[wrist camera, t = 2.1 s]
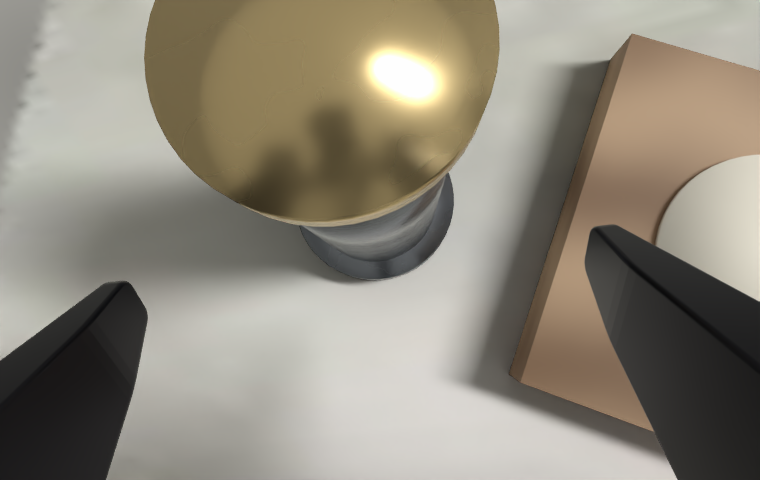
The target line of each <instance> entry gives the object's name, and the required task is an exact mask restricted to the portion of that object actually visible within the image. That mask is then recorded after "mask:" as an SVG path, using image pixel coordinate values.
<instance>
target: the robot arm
mask: <svg viewBox="0 0 760 480" xmlns="http://www.w3.org/2000/svg"><path fill="white" fill-rule="evenodd" d="M584 264H585V271H586V274H587V277H588V280H589V282H590V285H591V288H592V291H593V294H594V297H595V300H596V303H597V306H598V309H599V311H600V314H601V317H602V320H603V323H604V326H605V329H606V331H607V334H608V337H609V339H610V342H611V344H612V346H613V348H614V350H615V352H616V354H617V357H618V359H619V361H620V363H621V365H622V367H623V369H624V371H625V373H626V375H627V377H628V379H629V381H630V383H631V385H632V387H633V389H634V391H635V393H636V395H637V398H638V400H639V402H640V404H641V406H642V408H643V410H644V412H645V414H646V416H647V418H648V420H649V422H650V424H651V426H652V428H653V430H654V432H655V434H656V436H657V439H658V441H659V443H660V445H661V447H662V449H663V451H664V453H665V455H666V457H667V459H668V461H669V463H670V465H671V467H672V469H673V471H674V473H675V475H676V477H677V480H760V301H758V300H756V299H754V298H752V297H750V296H748V295H747V294H745V293H743V292H741V291H739V290H737V289H735V288H733V287H732V286H730V285H728V284H726V283H724V282H722V281H720V280H719V279H717V278H715V277H713V276H711V275H709V274H707V273H706V272H704V271H702V270H700V269H698V268H696V267H694V266H692V265H691V264H689V263H687V262H685V261H683V260H681V259H679V258H678V257H676V256H674V255H672V254H670V253H668V252H666V251H665V250H663V249H661V248H659V247H657V246H655V245H653V244H652V243H650V242H648V241H646V240H644V239H642V238H640V237H638V236H637V235H635V234H633V233H631V232H629V231H627V230H625V229H624V228H622V227H620V226H618V225H615V224H609V225H600V226H595V227H593V228H592V229H591V231H590V234H589V239H588V244H587V249H586V254H585V260H584ZM147 320H148V316H147V311H146V308H145V306H144V305H143V303H142V301H141V300H140V298H139V296H138V295H137V293H136V291H135V290H134V288H133V287H132V285H131V284H130V283H129V282H127V281H116V282H108V283H105V284H103V285H101V286H100V287H99V288H97V289H96V290H95V291H93V292H92V293H91V294H89V295H88V296H87V297H85V298H84V299H83V300H81V301H80V302H79V303H77V304H76V305H75V306H73V307H72V308H71V309H69V310H68V311H67V312H65V313H64V314H62V315H61V316H60V317H58V318H57V319H56V320H54V321H53V322H52V323H50V324H49V325H48V326H46V327H45V328H44V329H42V330H41V331H40V332H38V333H37V334H36V335H34V336H33V337H32V338H30V339H29V340H28V341H26V342H25V343H23V344H22V345H21V346H19V347H18V348H17V349H15V350H14V351H13V352H11V353H10V354H9V355H7V356H6V357H5V358H3V359H2V360H1V361H0V480H106V478H107V475H108V471H109V468H110V465H111V462H112V459H113V455H114V452H115V449H116V446H117V443H118V439H119V436H120V433H121V430H122V427H123V423H124V420H125V417H126V414H127V411H128V407H129V404H130V401H131V397H132V394H133V390H134V386H135V382H136V378H137V372H138V367H139V362H140V357H141V352H142V347H143V342H144V336H145V331H146V326H147Z"/></svg>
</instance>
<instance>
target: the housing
mask: <svg viewBox="0 0 760 480" xmlns="http://www.w3.org/2000/svg"><path fill="white" fill-rule="evenodd" d="M498 57H499V24H498V18H497V12H496V6H495V2H494V0H155V2H154V5H153V8H152V11H151V14H150V18H149V23H148V28H147V32H146V41H145V54H144V60H145V77H146V83H147V88H148V93H149V98H150V102H151V104H152V107H153V110H154V113H155V116H156V119H157V121H158V123H159V125H160V127H161V129H162V131H163V133H164V135H165V137H166V139H167V140H168V142H169V143H170V145H171V146H172V147H173V149H174V150H175V152H176V153H177V154H178V156H179V157H180V159H181V160H182V161H183V162H184V163H185V164H186V165H187V166H188V167H189V168H190V169H191V170H192V171H193V172H194V173H195V174H196V175H197V176H198V177H199V178H201V179H202V180H203V181H205V182H206V183H207V184H208V185H210V186H211V187H212V188H213V189H215V190H217V191H218V192H220V193H222V194H223V195H225V196H227V197H229V198H230V199H232V200H234V201H235V202H237V203H239V204H241V205H242V206H244V207H246V208H248V209H250V210H252V211H254V212H256V213H259V214H261V215H264V216H266V217H268V218H271V219H275V220H279V221H282V222H286V223H290V224H296V225H299V226H300V229H301V231H302V234H303V236H304V238H305V240H306V242H307V243H308V245H309V246H310V247H311V249H312V250H313V252H314V253H315V254H316V255H317V256H318V257H319V258H320V259H321V260H323V261H324V262H325V263H326V264H328V265H329V266H331V267H332V268H334V269H336V270H337V271H339V272H342V273H344V274H346V275H349V276H352V277H355V278H359V279H365V280H385V279H392V278H395V277H399V276H402V275H404V274H407V273H409V272H411V271H413V270H414V269H416V268H418V267H419V266H420V265H422V264H423V263H424V262H426V261H427V260H428V259H429V258H430V257H431V256H432V255H433V254H434V252H435V251H436V250H437V248H438V247H439V246H440V244H441V242H442V240H443V239H444V237H445V235H446V233H447V230H448V228H449V226H450V222H451V218H452V214H453V206H454V194H453V188H452V183H451V179H450V176H449V173H448V172H449V171H450V170H451V169H452V167H453V166H454V165H455V163H456V162H457V161H458V160H459V158H460V157H461V156H462V154H463V153H464V152H465V150H466V148H467V146H468V145H469V143H470V141H471V140H472V138H473V136H474V134H475V132H476V130H477V127H478V125H479V123H480V120H481V118H482V115H483V113H484V110H485V108H486V105H487V103H488V100H489V98H490V95H491V92H492V88H493V84H494V80H495V77H496V73H497V66H498Z"/></svg>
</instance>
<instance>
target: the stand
mask: <svg viewBox="0 0 760 480" xmlns="http://www.w3.org/2000/svg"><path fill="white" fill-rule="evenodd" d="M609 224H615V225H618V226H620V227H622V228H624V229H625V230H627V231H629V232H631V233H633V234H635V235H637V236H638V237H640V238H642V239H644V240H646V241H648V242H650V243H652V244H653V245H655V246H657V247H659V248H661V249H663V250H665V251H666V252H668V253H670V254H672V255H674V256H676V257H678V258H679V259H681V260H683V261H685V262H687V263H689V264H691V265H692V266H694V267H696V268H698V269H700V270H702V271H704V272H706V273H707V274H709V275H711V276H713V277H715V278H717V279H719V280H720V281H722V282H724V283H726V284H728V285H730V286H732V287H733V288H735V289H737V290H739V291H741V292H743V293H745V294H747V295H748V296H750V297H752V298H754V299H756V300H758V301H760V71H759V70H755V69H752V68H748V67H745V66H742V65H738V64H735V63H731V62H728V61H724V60H721V59H718V58H714V57H711V56H707V55H704V54H700V53H697V52H693V51H690V50H687V49H683V48H680V47H676V46H673V45H669V44H666V43H663V42H659V41H656V40H652V39H649V38H645V37H642V36H639V35H635V34H631V36H630V37H629V38H628V39H627V40H626V42H625V43H624V44H623V45H622V46H621V48H620V49H619V50H618V51H617V52H616V53H615V55H614V56H613V57H612V58H611V60H610V63H609V66H608V69H607V72H606V75H605V78H604V81H603V84H602V87H601V90H600V94H599V97H598V100H597V103H596V106H595V109H594V112H593V115H592V118H591V121H590V124H589V128H588V131H587V134H586V137H585V140H584V143H583V146H582V149H581V152H580V155H579V158H578V162H577V165H576V168H575V171H574V174H573V177H572V180H571V183H570V186H569V189H568V192H567V196H566V199H565V202H564V205H563V208H562V211H561V214H560V217H559V220H558V223H557V226H556V230H555V233H554V236H553V239H552V242H551V245H550V248H549V251H548V254H547V257H546V261H545V264H544V267H543V270H542V273H541V276H540V279H539V282H538V285H537V288H536V291H535V295H534V298H533V301H532V304H531V307H530V310H529V313H528V316H527V319H526V322H525V325H524V329H523V332H522V335H521V338H520V341H519V344H518V347H517V350H516V353H515V356H514V359H513V363H512V366H511V369H510V372H509V375H511V376H512V377H513V378H515V379H516V380H517V381H519V382H520V383H523V384H525V385H528V386H531V387H534V388H536V389H539V390H542V391H544V392H547V393H550V394H553V395H555V396H558V397H561V398H563V399H566V400H569V401H571V402H574V403H577V404H580V405H582V406H585V407H588V408H590V409H593V410H596V411H599V412H601V413H604V414H607V415H609V416H612V417H615V418H618V419H620V420H623V421H626V422H628V423H631V424H634V425H636V426H639V427H642V428H645V429H647V430H650V431H653V432H654V430H653V428H652V426H651V424H650V422H649V420H648V418H647V416H646V414H645V412H644V410H643V408H642V406H641V404H640V402H639V400H638V398H637V395H636V393H635V391H634V389H633V387H632V385H631V383H630V381H629V379H628V377H627V375H626V373H625V371H624V369H623V367H622V365H621V363H620V361H619V359H618V357H617V354H616V352H615V350H614V348H613V346H612V344H611V342H610V339H609V337H608V334H607V331H606V329H605V326H604V323H603V320H602V317H601V314H600V311H599V309H598V306H597V303H596V300H595V297H594V294H593V291H592V288H591V285H590V282H589V280H588V277H587V274H586V271H585V264H584V260H585V254H586V249H587V244H588V239H589V234H590V231H591V229H592V228H593V227H595V226H600V225H609Z"/></svg>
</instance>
